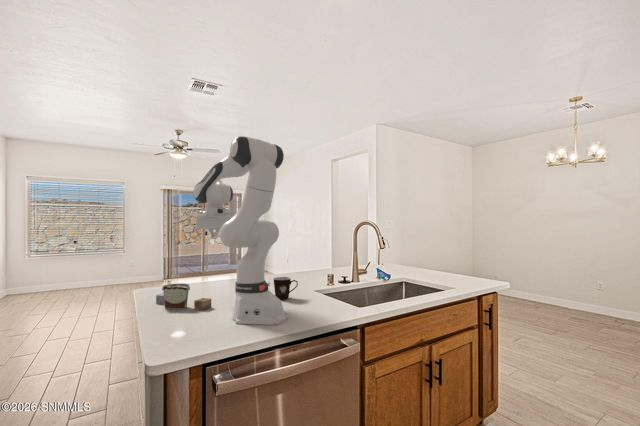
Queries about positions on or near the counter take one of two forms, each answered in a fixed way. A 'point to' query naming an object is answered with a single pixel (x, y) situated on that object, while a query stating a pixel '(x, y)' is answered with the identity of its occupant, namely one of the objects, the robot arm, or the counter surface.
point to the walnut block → (202, 304)
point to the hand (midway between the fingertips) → (214, 237)
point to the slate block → (160, 298)
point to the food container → (176, 295)
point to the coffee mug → (283, 287)
